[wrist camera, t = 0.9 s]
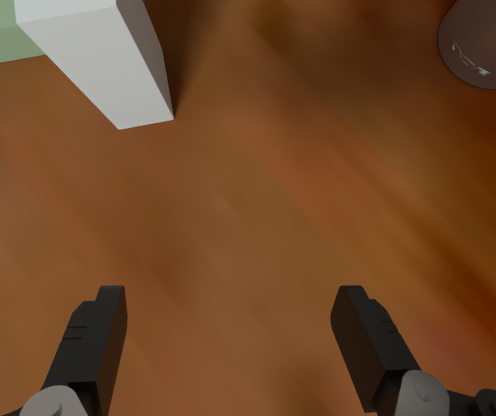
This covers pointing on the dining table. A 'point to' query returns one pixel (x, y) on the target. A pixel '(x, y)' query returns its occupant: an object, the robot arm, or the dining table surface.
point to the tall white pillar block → (104, 54)
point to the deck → (14, 36)
